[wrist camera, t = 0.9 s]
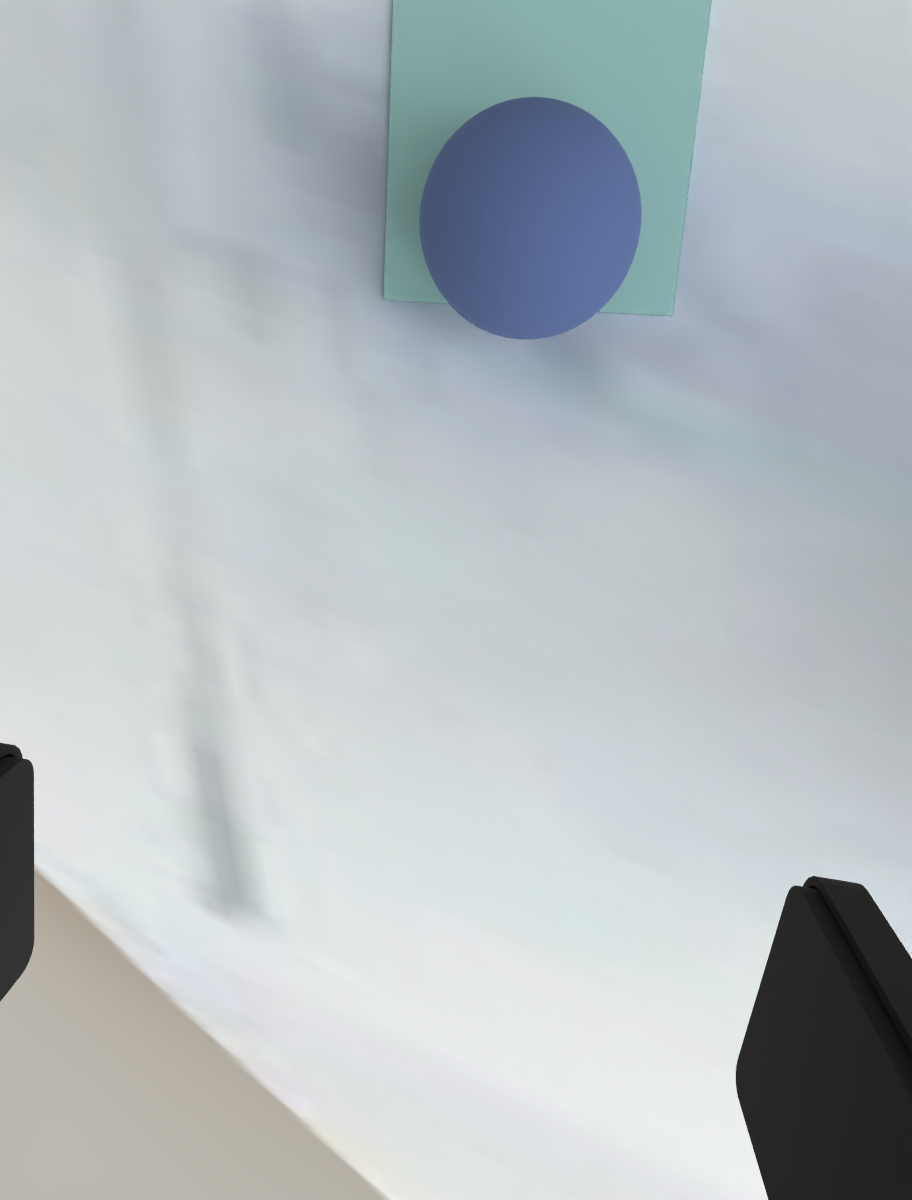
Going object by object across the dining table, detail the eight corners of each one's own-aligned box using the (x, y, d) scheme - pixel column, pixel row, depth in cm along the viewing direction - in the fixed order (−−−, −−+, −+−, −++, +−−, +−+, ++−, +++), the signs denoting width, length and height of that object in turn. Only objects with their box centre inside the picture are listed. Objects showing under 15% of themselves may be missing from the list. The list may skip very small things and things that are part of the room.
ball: (641, 134, 25) (669, 67, 19) (619, 346, 27) (638, 343, 21) (439, 126, 25) (407, 59, 20) (429, 335, 27) (397, 329, 21)
